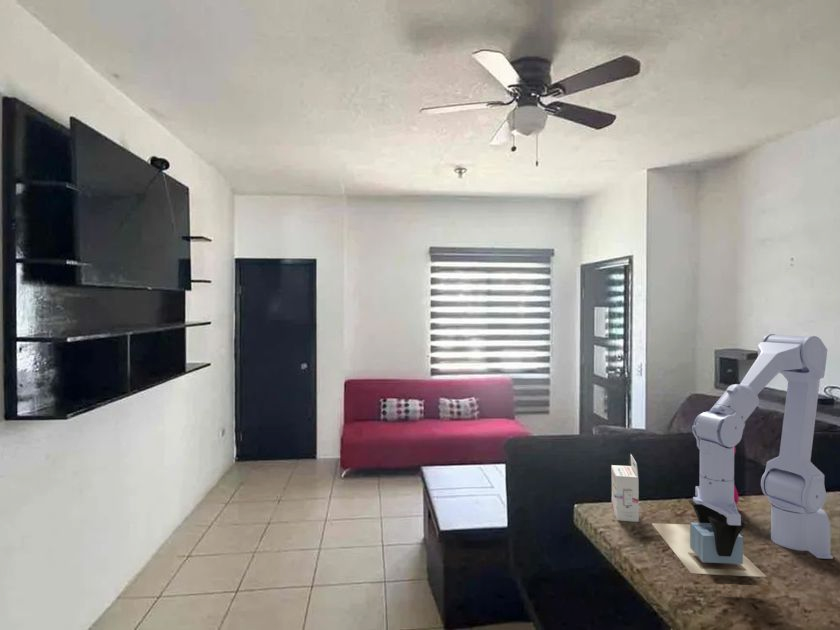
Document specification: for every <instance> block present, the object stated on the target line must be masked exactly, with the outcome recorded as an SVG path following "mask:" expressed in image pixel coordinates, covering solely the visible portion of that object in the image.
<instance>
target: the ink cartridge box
mask: <svg viewBox="0 0 840 630" xmlns="http://www.w3.org/2000/svg"><path fill="white" fill-rule="evenodd" d="M630 464H631V465H619V464H618V465H617V464H616V465H615V464H614V465H613V464H611V468H610V469H611V471H610V472H611V508H612V511H613V512H614V517H615V518H616V520H617V521H622V522H625V521H626V522H637V523H638V522H640V520H639V519H640V511H639V507H640V505H639V504H640V503H639V501H640V499H639V498H640V497H639V493H640V491H639V489H640V488H639V485H640V484H639V471H638V470H639V469H638V463H637V462H636V460H635V458H634V456H633V455H632V453H630Z"/></svg>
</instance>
